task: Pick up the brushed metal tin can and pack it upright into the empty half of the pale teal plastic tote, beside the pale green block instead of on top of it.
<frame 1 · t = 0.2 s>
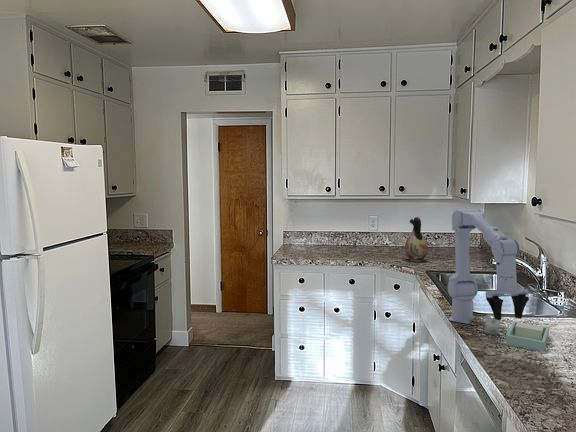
hand: (508, 318, 135), 10 cm above the worktop, tool pointing down, fingers open, 7 cm apart
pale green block: (529, 336, 145), point 1 cm above the worktop, touching tote
ceramic jug: (416, 261, 282), on the worktop
tin can: (491, 335, 148), on the worktop
tote: (527, 342, 142), on the worktop
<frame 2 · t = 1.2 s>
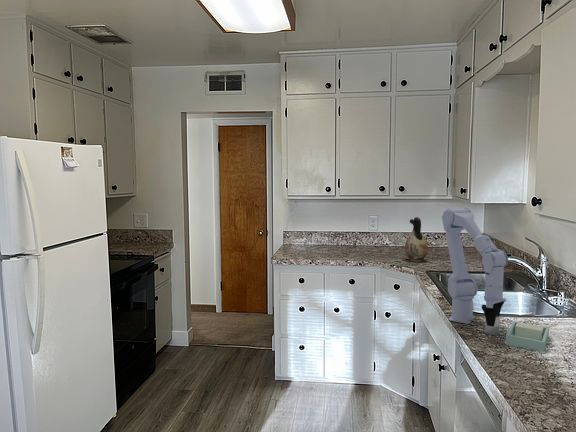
hand: (492, 322, 148), 5 cm above the worktop, tool pointing down, fingers open, 7 cm apart
nothing on the worktop moved.
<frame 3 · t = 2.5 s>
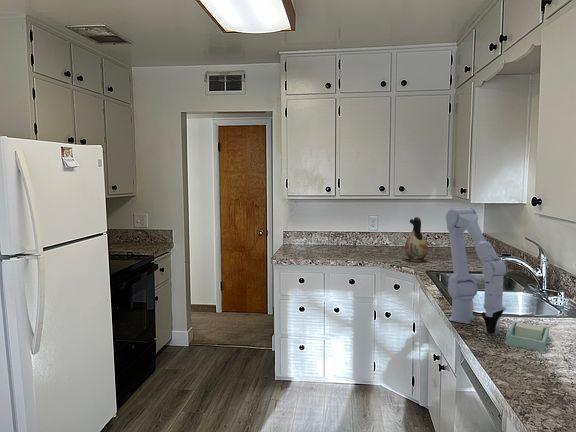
hand: (492, 331, 148), 2 cm above the worktop, tool pointing down, fingers closed on tin can, 5 cm apart
tin can: (491, 335, 148), on the worktop, touching gripper
everything else where it was.
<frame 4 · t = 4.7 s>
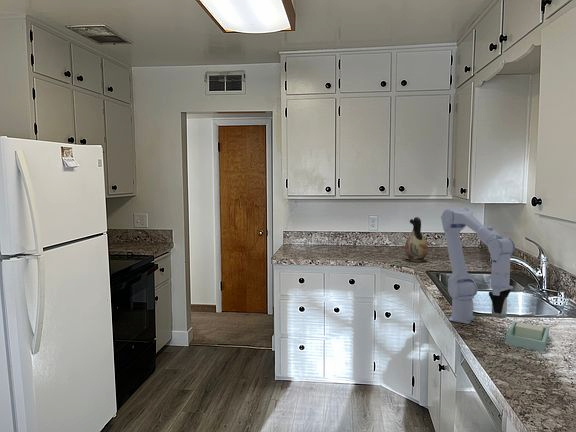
hand: (499, 311, 146), 9 cm above the worktop, tool pointing down, fingers closed on tin can, 5 cm apart
tin can: (498, 316, 146), point 8 cm above the worktop, touching gripper
everything else where it was.
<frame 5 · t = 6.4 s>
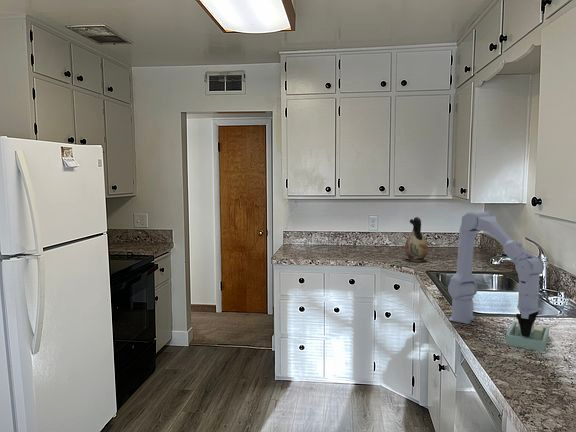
hand: (526, 333, 139), 4 cm above the worktop, tool pointing down, fingers closed on tin can, 5 cm apart
tin can: (526, 339, 139), point 2 cm above the worktop, touching gripper
everything else where it was.
when the fingers open (4 cm above the worktop, at t = 7.2 s): tin can drops 1 cm, resting on tote.
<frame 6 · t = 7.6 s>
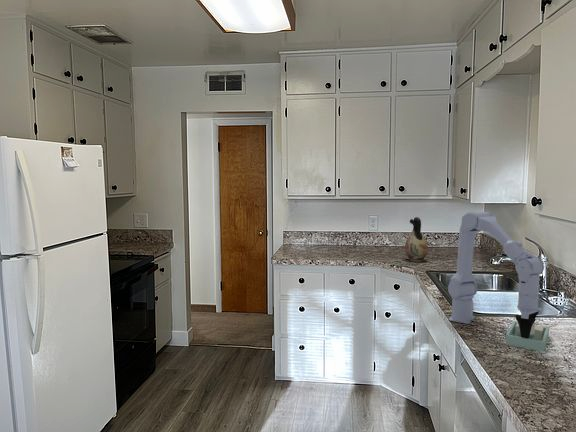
hand: (526, 334, 139), 4 cm above the worktop, tool pointing down, fingers open, 7 cm apart
tin can: (525, 342, 139), point 1 cm above the worktop, touching tote
everything else where it was.
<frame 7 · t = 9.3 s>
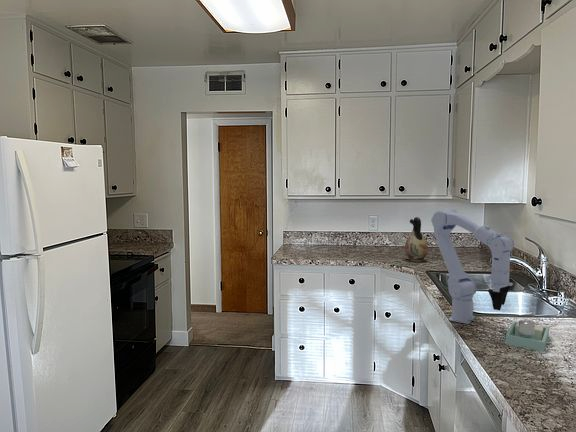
hand: (498, 306, 151), 9 cm above the worktop, tool pointing down, fingers open, 7 cm apart
nothing on the worktop moved.
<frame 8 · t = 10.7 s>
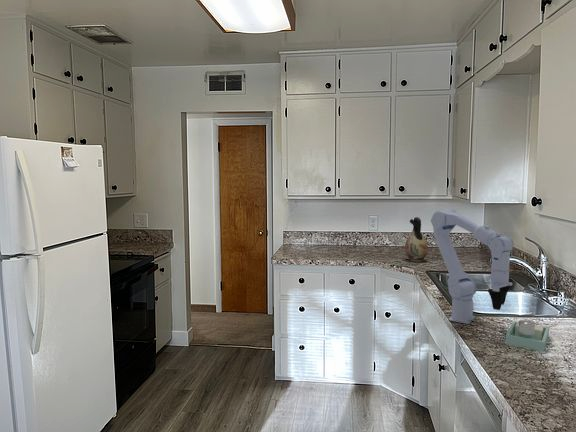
hand: (498, 306, 151), 9 cm above the worktop, tool pointing down, fingers open, 7 cm apart
nothing on the worktop moved.
at the end: tin can 0.3 cm from the target spot on the tote, point 1.0 cm above the tote's base; tin can tilted 0°; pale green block moved 0.0 cm from its start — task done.
